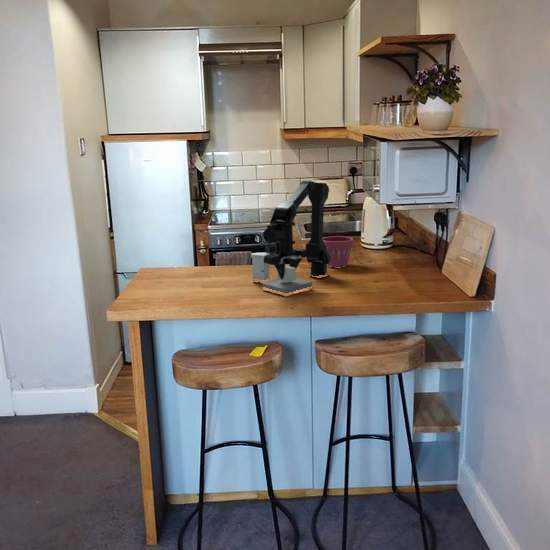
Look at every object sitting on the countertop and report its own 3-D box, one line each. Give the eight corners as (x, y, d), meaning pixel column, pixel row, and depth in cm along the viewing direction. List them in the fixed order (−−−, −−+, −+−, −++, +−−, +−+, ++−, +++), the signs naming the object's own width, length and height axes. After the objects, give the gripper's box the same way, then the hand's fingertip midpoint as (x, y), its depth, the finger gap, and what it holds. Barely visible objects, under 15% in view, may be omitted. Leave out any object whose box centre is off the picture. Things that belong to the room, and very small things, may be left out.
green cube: (287, 278, 230) (287, 265, 229) (296, 280, 226) (295, 267, 225) (278, 280, 227) (277, 268, 226) (286, 282, 223) (286, 270, 222)
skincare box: (252, 282, 240) (250, 254, 238) (258, 280, 244) (256, 252, 241) (265, 284, 237) (263, 255, 235) (270, 281, 241) (269, 253, 238)
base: (288, 283, 237) (288, 276, 237) (312, 289, 227) (312, 282, 226) (262, 290, 228) (261, 283, 228) (286, 297, 218) (285, 289, 217)
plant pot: (352, 262, 269) (352, 235, 266) (353, 269, 256) (353, 241, 252) (322, 262, 271) (321, 236, 267) (321, 270, 257) (320, 241, 254)
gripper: (289, 232, 234) (290, 270, 238) (253, 239, 223) (255, 279, 227) (308, 235, 226) (309, 274, 230) (272, 243, 215) (274, 283, 218)
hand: (286, 277), depth 227 cm, fingers closed on green cube, 5 cm apart
